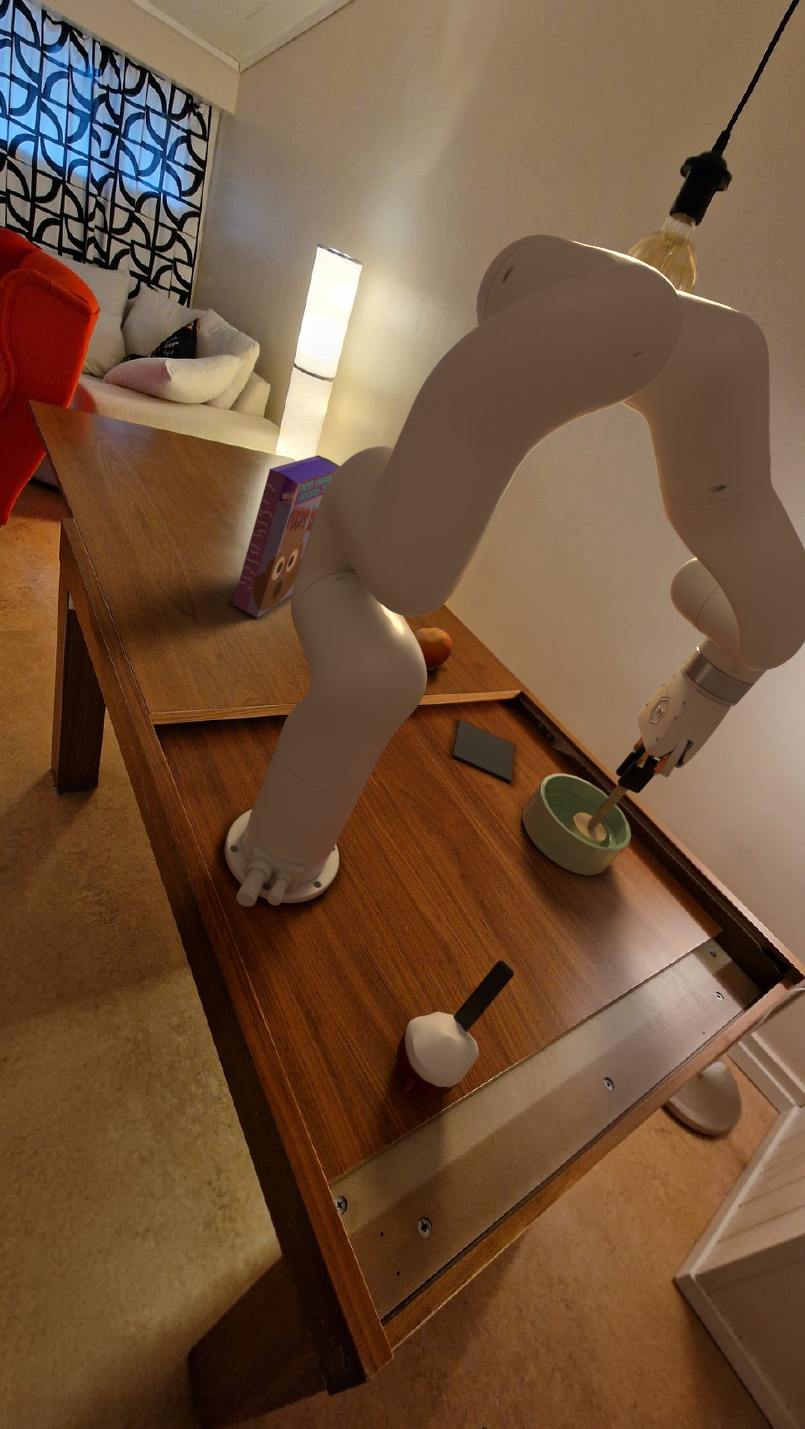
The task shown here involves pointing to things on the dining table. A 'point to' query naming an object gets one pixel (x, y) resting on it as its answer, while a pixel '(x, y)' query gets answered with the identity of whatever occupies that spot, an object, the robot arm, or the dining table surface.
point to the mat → (484, 751)
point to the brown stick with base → (595, 819)
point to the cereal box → (281, 533)
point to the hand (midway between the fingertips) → (626, 782)
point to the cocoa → (446, 1041)
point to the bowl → (554, 812)
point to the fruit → (434, 646)
